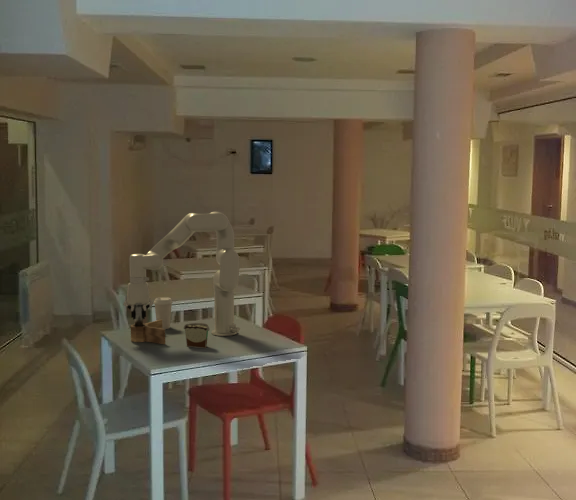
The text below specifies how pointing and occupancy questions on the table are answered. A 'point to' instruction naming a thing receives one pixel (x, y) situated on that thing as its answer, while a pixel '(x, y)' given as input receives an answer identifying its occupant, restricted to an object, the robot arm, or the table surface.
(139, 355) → the table surface
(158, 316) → the coffee cup
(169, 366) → the table surface
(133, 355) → the table surface
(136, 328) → the hinge
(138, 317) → the pin
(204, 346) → the food container
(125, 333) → the table surface
